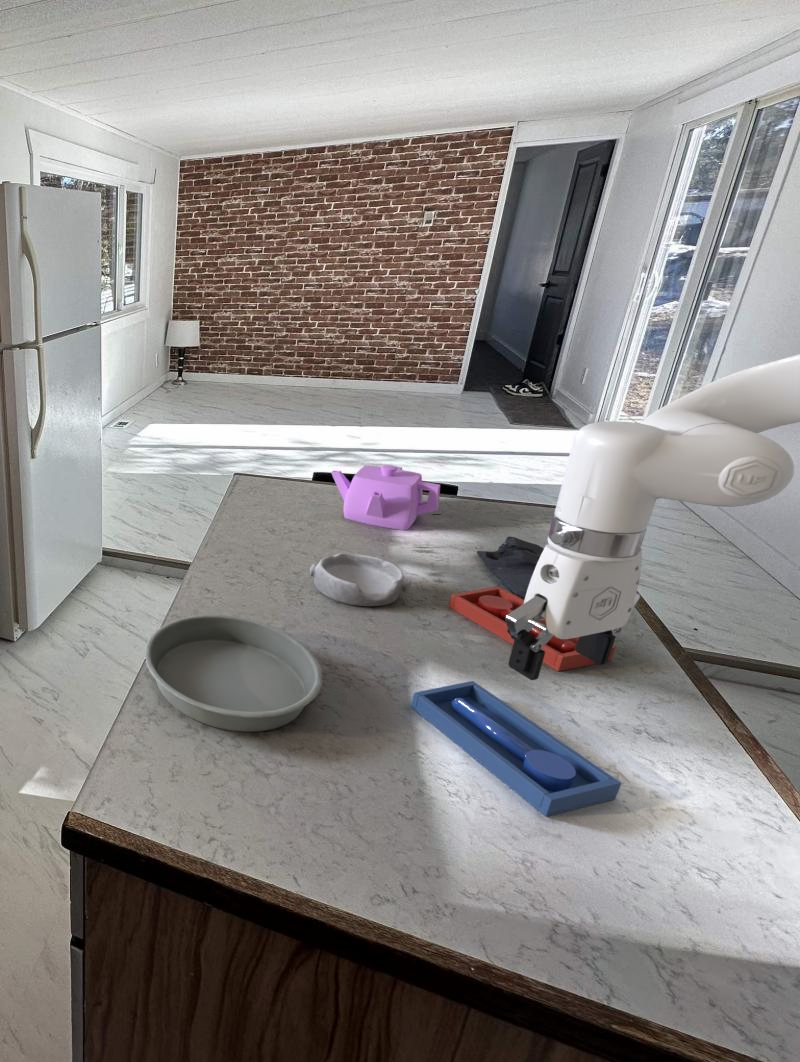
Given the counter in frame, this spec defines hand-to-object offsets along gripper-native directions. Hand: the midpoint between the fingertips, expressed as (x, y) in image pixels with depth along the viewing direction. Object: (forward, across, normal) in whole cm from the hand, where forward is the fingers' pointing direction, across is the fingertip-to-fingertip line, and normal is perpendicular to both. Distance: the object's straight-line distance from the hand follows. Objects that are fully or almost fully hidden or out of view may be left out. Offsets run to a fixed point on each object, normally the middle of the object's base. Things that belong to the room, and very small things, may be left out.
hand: (556, 665), depth 76 cm
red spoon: (+12, +22, +21) cm, 33 cm away
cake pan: (+12, -30, +22) cm, 39 cm away
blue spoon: (+12, -4, +1) cm, 12 cm away
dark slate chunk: (+13, +38, +33) cm, 52 cm away
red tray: (+13, +22, +21) cm, 33 cm away
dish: (+12, +6, +40) cm, 42 cm away
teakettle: (+13, +34, +67) cm, 76 cm away
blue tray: (+12, -4, +1) cm, 13 cm away
